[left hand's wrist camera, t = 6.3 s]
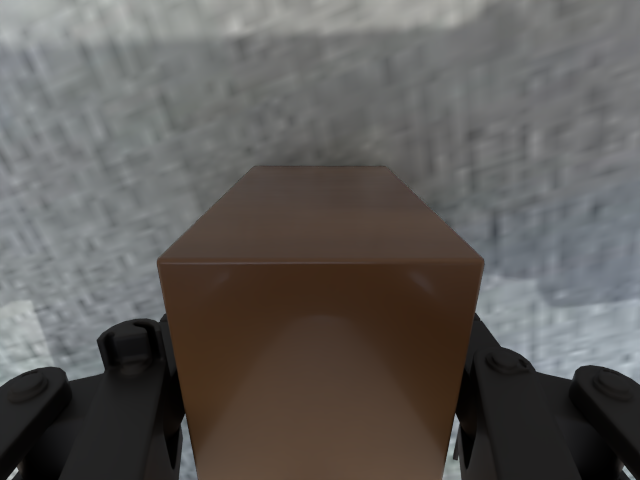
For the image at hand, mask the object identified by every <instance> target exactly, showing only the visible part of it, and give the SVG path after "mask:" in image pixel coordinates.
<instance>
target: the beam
mask: <svg viewBox="0 0 640 480" xmlns="http://www.w3.org/2000/svg"><path fill="white" fill-rule="evenodd" d="M157 267H158V273H159V278H160V283H161V288H162V294H163V299H164V304H165V309H166V314H167V320H168V325H169V330H170V335H171V341H172V346H173V351H174V356H175V361H176V367H177V372H178V377H179V382H180V388H181V393H182V398H183V403H184V408H185V414H186V419H187V424H188V429H189V435H190V440H191V445H192V450H193V455H194V461H195V466H196V471H197V476H198V480H442V477H443V472H444V467H445V462H446V457H447V452H448V447H449V442H450V437H451V431H452V426H453V421H454V416H455V411H456V406H457V401H458V396H459V391H460V386H461V381H462V376H463V371H464V366H465V361H466V355H467V350H468V345H469V340H470V335H471V330H472V325H473V320H474V315H475V310H476V305H477V300H478V295H479V290H480V285H481V279H482V274H483V269H484V259H483V258H482V257H481V256H480V255H479V254H478V253H477V252H476V251H475V250H474V249H473V248H472V247H470V246H469V245H468V244H467V243H466V242H465V241H464V240H463V239H462V238H461V237H460V236H459V235H458V234H457V233H456V232H455V231H454V230H453V229H451V228H450V227H449V226H448V225H447V224H446V223H445V222H444V221H443V220H442V219H441V218H440V217H439V216H438V215H437V214H436V213H435V212H434V211H432V210H431V209H430V208H429V207H428V206H427V205H426V204H425V203H424V202H423V201H422V200H421V199H420V198H419V197H418V196H417V195H416V194H415V193H413V192H412V191H411V190H410V189H409V188H408V187H407V186H406V185H405V184H404V183H403V182H402V181H401V180H400V179H399V178H398V177H397V176H396V175H394V174H393V173H392V172H391V171H390V170H389V169H388V168H387V167H385V166H254V167H252V168H251V169H250V170H249V171H248V172H247V173H246V174H245V175H244V176H243V177H242V178H241V179H240V180H239V181H238V182H237V183H236V184H235V185H234V186H233V187H232V188H231V189H230V190H229V191H228V192H226V193H225V194H224V195H223V196H222V197H221V198H220V199H219V200H218V201H217V202H216V203H215V204H214V205H213V206H212V207H211V208H210V209H209V210H208V211H207V212H206V213H205V214H204V215H203V216H202V217H201V218H199V219H198V220H197V221H196V222H195V223H194V224H193V225H192V226H191V227H190V228H189V229H188V230H187V231H186V232H185V233H184V234H183V235H182V236H181V237H180V238H179V239H178V240H177V241H176V242H175V243H173V244H172V245H171V246H170V247H169V248H168V249H167V250H166V251H165V252H164V253H163V254H162V255H161V256H160V257H159V258H158V260H157Z"/></svg>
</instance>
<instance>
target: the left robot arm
mask: <svg viewBox="0 0 640 480" xmlns="http://www.w3.org/2000/svg"><path fill="white" fill-rule="evenodd" d="M97 343H98V347H99V350H100V354H101V357H102V361H103V364H104V367H105V371H104V373H103V374H99V375H96V376H91V377H86V378H82V379H77V380H73V381H68V378H67V376H66V373H65V372H64V371H63V370H62V369H61V368H57V367H44V368H37V369H34V370H31V371H28V372H25V373H23V374H21V375H19V376H17V377H15V378H13V379H11V380H9V381H8V382H7V383H5V384H4V385H2V386H1V387H0V480H6V479H7V478H8V477H9V476H10V474H11V473H12V472H13V471H14V469H15V468H16V467H17V468H18V470H19V471H18V473H17V474H16V475H15V476H14V478H13V479H12V480H179V470H180V461H181V451H182V442H183V435H182V429H181V422H182V420H183V417H184V415H185V408H184V403H183V398H182V393H181V388H180V382H179V377H178V372H177V367H176V361H175V356H174V351H173V346H172V341H171V335H170V330H169V325H168V320H167V314H164V316H163V317H162V318H161V320H160V322H156V321H155V320H151V319H147V318H146V319H133V320H129V321H125V322H122V323H119V324H117V325H115V326H112V327H111V328H109V329H108V330H106V331H105V332H103V333H102V334H101V336H100V337H99V338H98V339H97ZM455 413H456V415H457V417H458V420H459V422H460V424H459V429H458V434H457V439H456V444H455V449H454V454H453V459H454V460H458V455H459V460H460V469H461V479H462V480H630V479H629V478H628V477H627V475H626V474H625V473H624V471H623V470H622V469H623V467H624V465H625V466H626V468H627V469H628V470H629V471H630V473H631V474H632V475H633V476H634V477H635V479H636V480H640V385H639V384H638V383H636V382H635V381H634V380H632V379H631V378H629V377H627V376H625V375H623V374H621V373H619V372H617V371H615V370H612V369H609V368H605V367H600V366H593V365H588V366H581V367H580V368H578V369H577V370H576V371H575V374H574V376H573V379H572V380H570V379H565V378H561V377H556V376H551V375H547V374H543V373H539V372H536V371H535V369H534V367H533V366H532V364H531V363H530V362H529V361H528V360H527V359H526V358H524V357H523V356H522V355H520V354H518V353H516V352H514V351H512V350H510V349H507V348H503V347H501V346H500V345H499V343H498V342H497V341H496V339H495V338H494V337H493V335H492V334H491V333H490V331H489V330H488V329H487V327H486V326H485V325H484V323H483V322H482V321H480V318H479V316H478V315H477V314H476V313H475V315H474V320H473V325H472V330H471V335H470V340H469V345H468V350H467V355H466V361H465V366H464V371H463V376H462V381H461V386H460V391H459V396H458V401H457V406H456V411H455Z"/></svg>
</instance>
